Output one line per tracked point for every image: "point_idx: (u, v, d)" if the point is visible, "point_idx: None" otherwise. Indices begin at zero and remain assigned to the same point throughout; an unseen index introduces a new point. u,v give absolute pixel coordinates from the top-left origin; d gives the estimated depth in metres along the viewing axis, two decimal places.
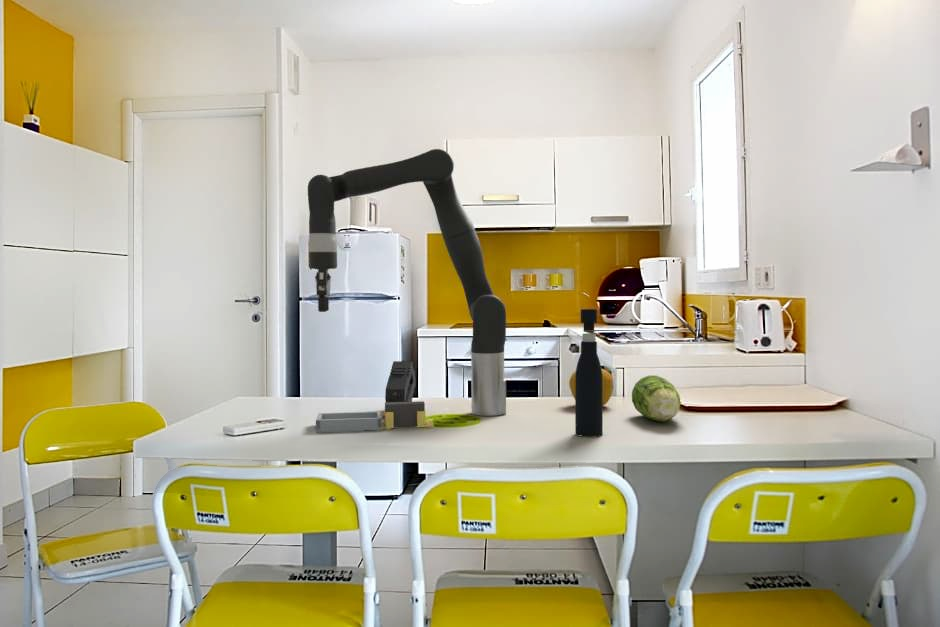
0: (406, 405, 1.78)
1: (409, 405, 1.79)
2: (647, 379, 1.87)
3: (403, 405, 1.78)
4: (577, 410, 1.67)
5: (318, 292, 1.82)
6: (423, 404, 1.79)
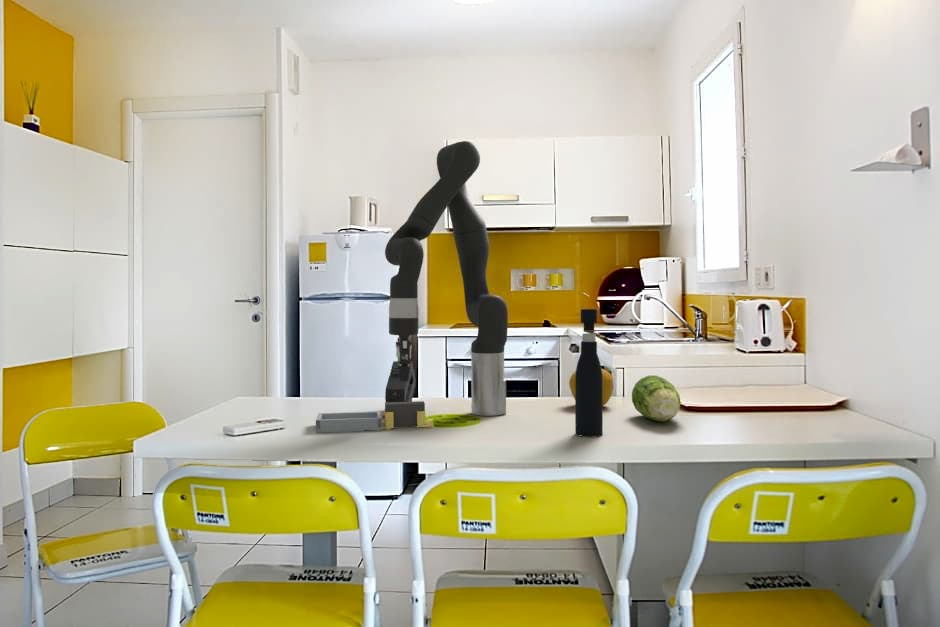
0: (406, 405, 1.79)
1: (409, 405, 1.79)
2: (647, 379, 1.87)
3: (403, 405, 1.78)
4: (577, 410, 1.67)
5: (401, 362, 1.73)
6: (423, 404, 1.79)
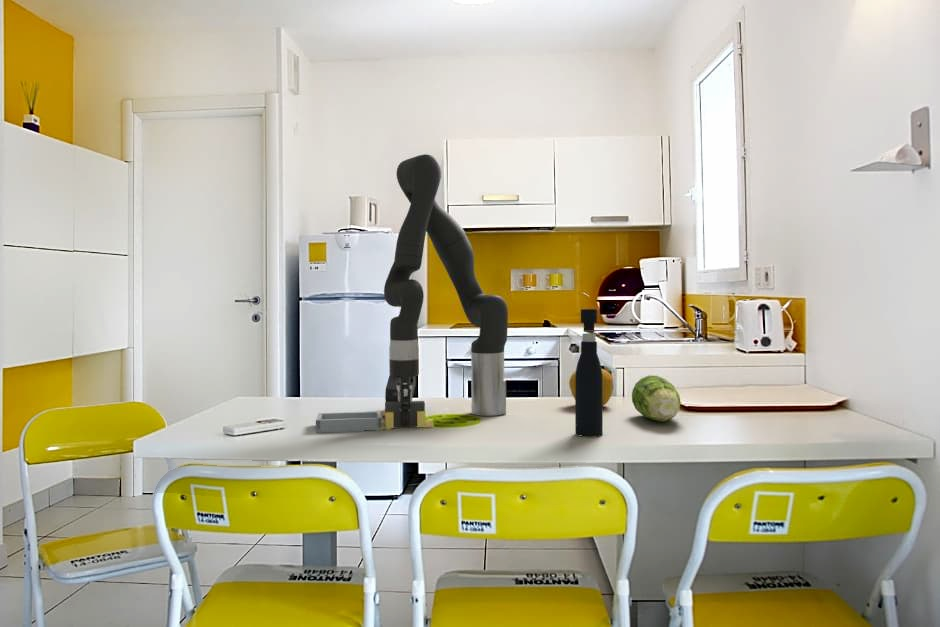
0: None
1: None
2: (647, 379, 1.87)
3: None
4: (577, 410, 1.67)
5: (402, 408, 1.75)
6: (423, 404, 1.79)
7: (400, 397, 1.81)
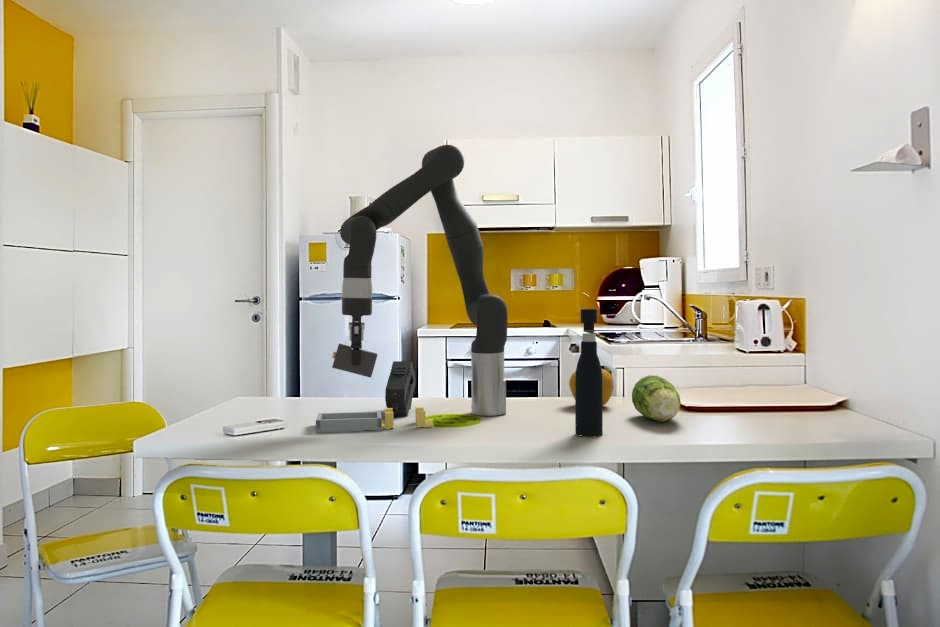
0: None
1: (362, 352, 1.76)
2: (647, 379, 1.87)
3: None
4: (577, 410, 1.67)
5: (352, 346, 1.73)
6: (376, 355, 1.77)
7: None
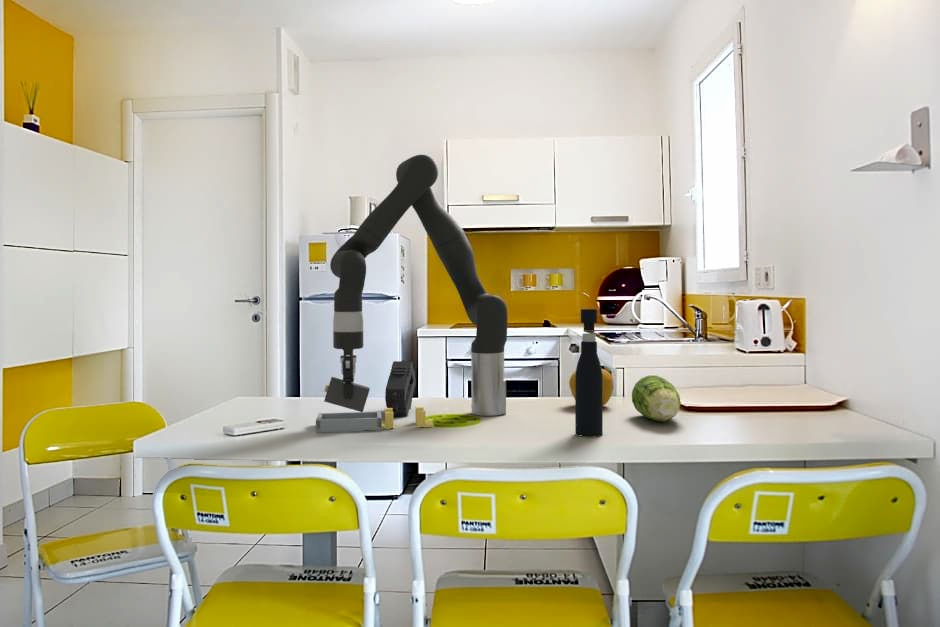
0: None
1: (354, 386, 1.76)
2: (647, 379, 1.87)
3: None
4: (577, 410, 1.67)
5: (344, 380, 1.73)
6: (368, 390, 1.77)
7: None
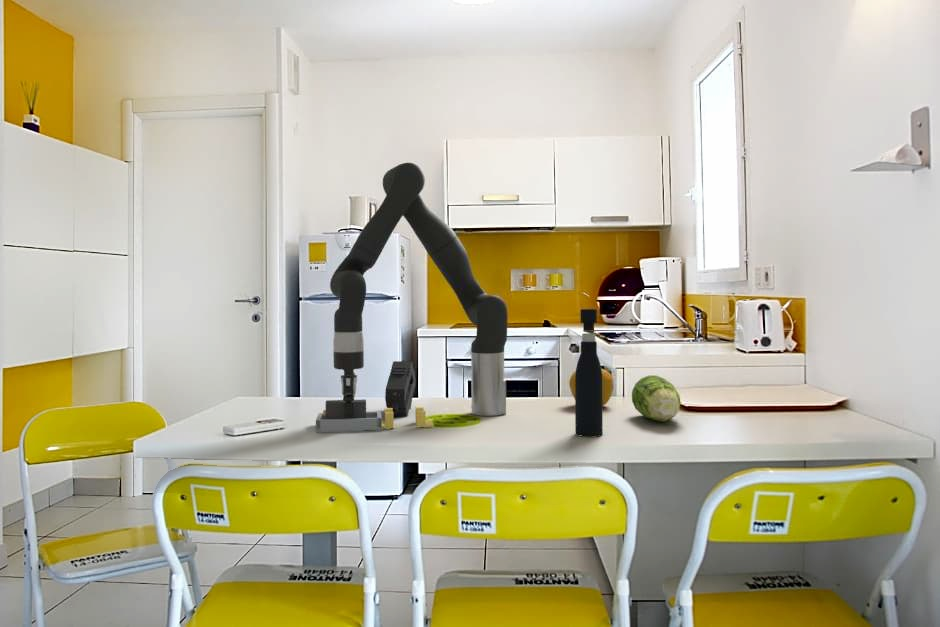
0: None
1: None
2: (647, 379, 1.87)
3: None
4: (577, 410, 1.67)
5: (345, 399, 1.72)
6: (364, 402, 1.77)
7: None
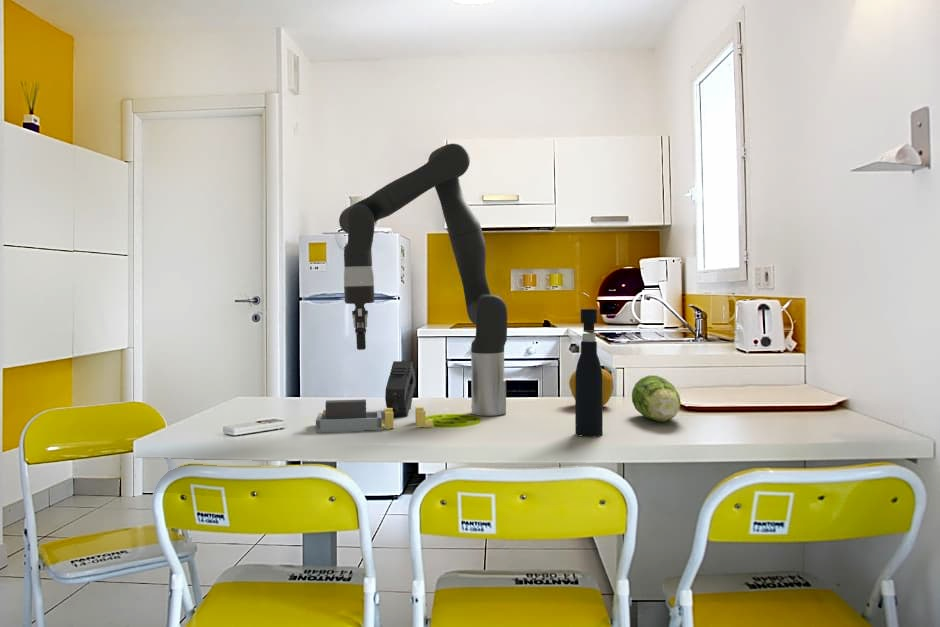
0: (347, 403, 1.76)
1: (350, 403, 1.76)
2: (647, 379, 1.87)
3: (344, 403, 1.76)
4: (577, 410, 1.67)
5: (357, 330, 1.72)
6: (364, 402, 1.77)
7: None
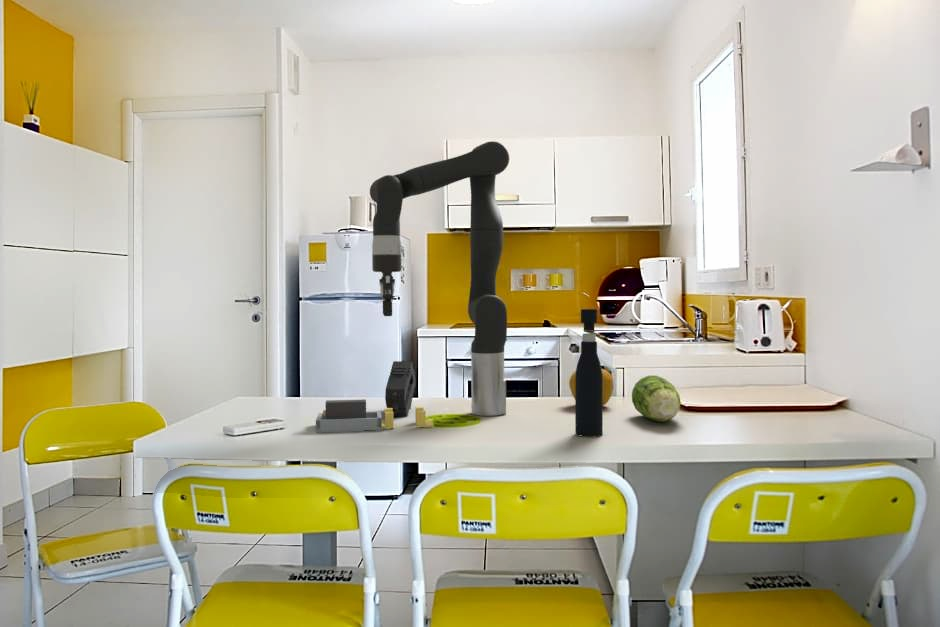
0: (347, 403, 1.76)
1: (350, 403, 1.76)
2: (647, 379, 1.87)
3: (344, 403, 1.76)
4: (577, 410, 1.67)
5: (384, 296, 1.77)
6: (364, 402, 1.77)
7: None
